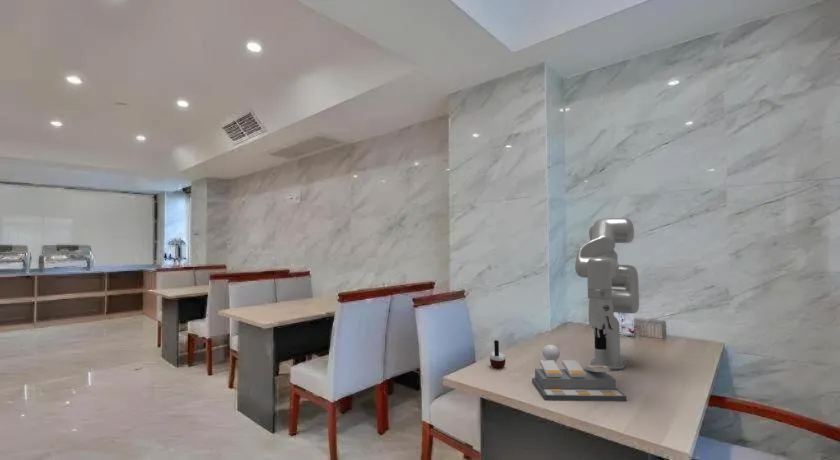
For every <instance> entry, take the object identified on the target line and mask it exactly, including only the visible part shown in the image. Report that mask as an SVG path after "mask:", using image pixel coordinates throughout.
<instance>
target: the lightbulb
mask: <svg viewBox="0 0 840 460" xmlns="http://www.w3.org/2000/svg"><path fill="white" fill-rule="evenodd" d="M542 356H543V358H544V360H554V361H555V363H556V364H557V361H558V359H559V358H560V349H559V348H558V347H557V346H556V345H554V344H546V345H545V346H544V347H543V349H542Z"/></svg>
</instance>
